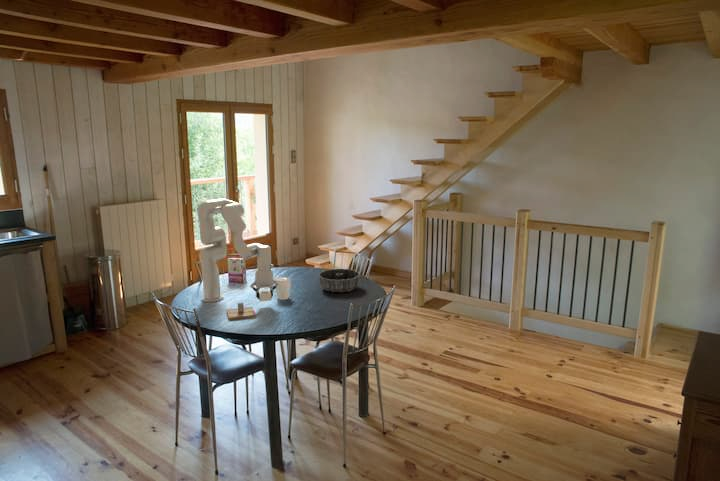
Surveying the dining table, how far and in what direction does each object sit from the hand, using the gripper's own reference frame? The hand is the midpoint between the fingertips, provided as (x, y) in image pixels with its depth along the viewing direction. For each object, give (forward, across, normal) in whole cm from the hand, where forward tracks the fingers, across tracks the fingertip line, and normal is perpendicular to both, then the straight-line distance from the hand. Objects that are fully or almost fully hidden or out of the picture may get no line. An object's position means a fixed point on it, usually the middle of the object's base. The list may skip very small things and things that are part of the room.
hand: (264, 297), depth 282 cm
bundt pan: (+5, -50, -18) cm, 53 cm away
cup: (+6, -13, -12) cm, 19 cm away
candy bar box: (+8, +9, -58) cm, 59 cm away
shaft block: (+6, +14, +9) cm, 18 cm away
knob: (+1, 0, 0) cm, 1 cm away
